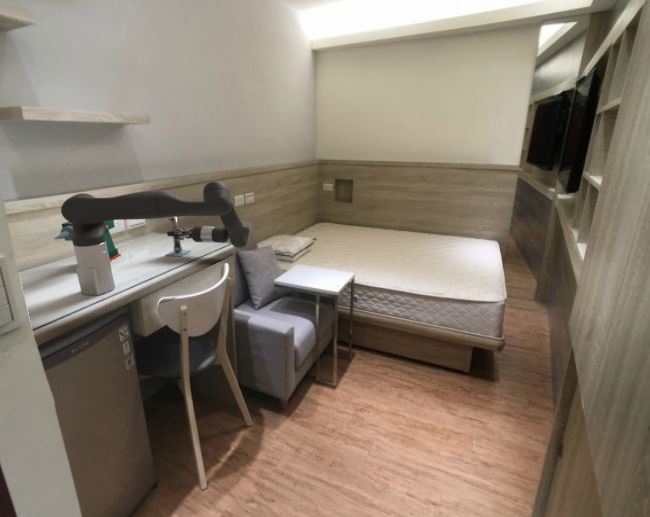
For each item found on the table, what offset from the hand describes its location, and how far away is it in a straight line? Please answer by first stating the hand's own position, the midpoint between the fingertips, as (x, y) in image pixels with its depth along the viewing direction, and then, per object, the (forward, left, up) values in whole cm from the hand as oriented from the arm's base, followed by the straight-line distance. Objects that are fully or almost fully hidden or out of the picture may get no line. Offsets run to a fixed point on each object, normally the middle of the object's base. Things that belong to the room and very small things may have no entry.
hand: (169, 232), depth 159 cm
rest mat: (0, -3, -10) cm, 10 cm away
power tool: (-24, +21, -10) cm, 34 cm away
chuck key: (0, -3, -8) cm, 9 cm away
